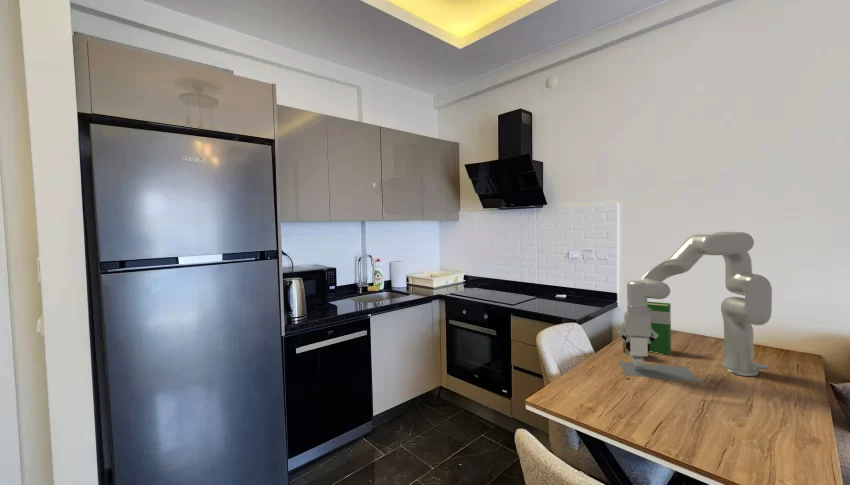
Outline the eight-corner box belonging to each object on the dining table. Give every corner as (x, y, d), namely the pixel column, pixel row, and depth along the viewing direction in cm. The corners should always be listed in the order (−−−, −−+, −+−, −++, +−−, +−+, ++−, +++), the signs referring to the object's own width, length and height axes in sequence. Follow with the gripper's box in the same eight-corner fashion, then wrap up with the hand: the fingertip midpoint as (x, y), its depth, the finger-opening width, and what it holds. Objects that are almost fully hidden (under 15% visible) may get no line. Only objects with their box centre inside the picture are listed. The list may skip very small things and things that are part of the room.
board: (686, 370, 157) (686, 366, 157) (700, 385, 142) (700, 381, 142) (619, 364, 166) (619, 361, 166) (625, 378, 151) (625, 374, 151)
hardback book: (628, 348, 186) (627, 302, 186) (631, 344, 192) (630, 300, 191) (669, 355, 175) (669, 306, 175) (671, 350, 181) (670, 303, 180)
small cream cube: (644, 351, 158) (644, 334, 157) (647, 356, 152) (647, 338, 152) (628, 350, 160) (628, 333, 160) (631, 355, 154) (630, 337, 154)
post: (641, 368, 157) (641, 356, 157) (643, 371, 154) (643, 359, 154) (632, 367, 158) (632, 356, 158) (634, 370, 155) (633, 358, 155)
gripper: (658, 309, 156) (658, 350, 156) (613, 307, 162) (614, 346, 162) (663, 312, 149) (663, 356, 149) (616, 311, 155) (616, 352, 155)
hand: (637, 350), depth 156 cm, fingers closed on small cream cube, 6 cm apart
